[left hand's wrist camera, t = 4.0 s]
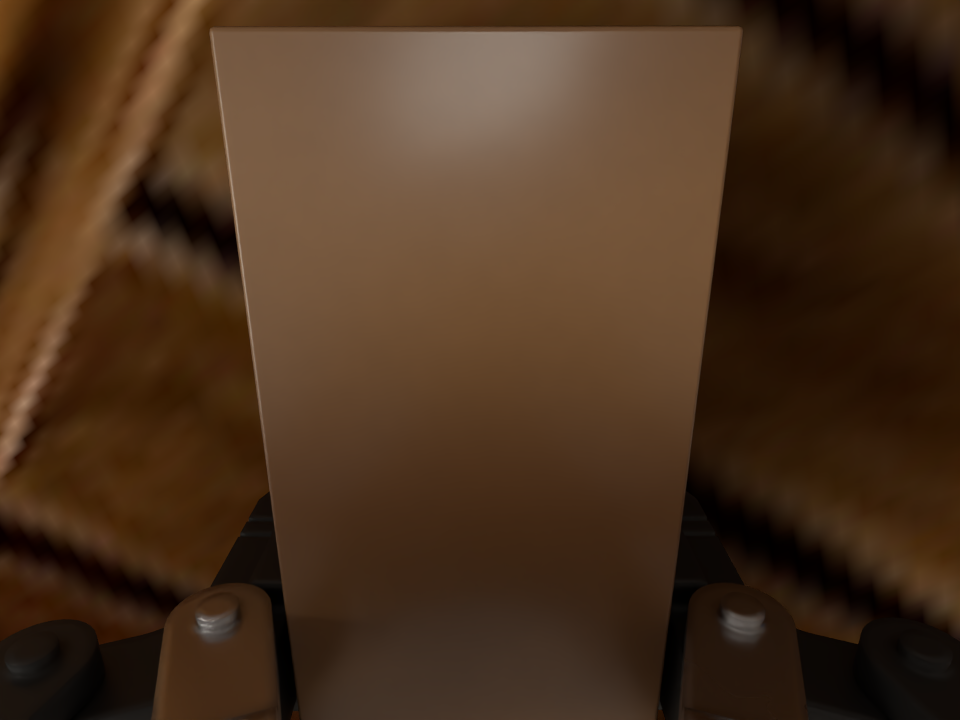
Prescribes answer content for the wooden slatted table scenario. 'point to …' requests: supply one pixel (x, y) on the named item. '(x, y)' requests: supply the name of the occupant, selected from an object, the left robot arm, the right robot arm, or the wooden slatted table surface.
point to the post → (477, 349)
